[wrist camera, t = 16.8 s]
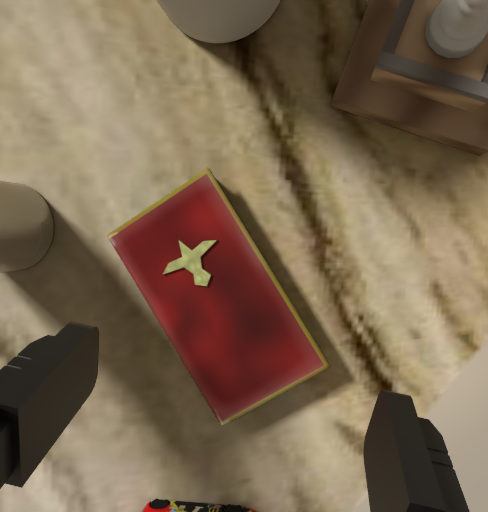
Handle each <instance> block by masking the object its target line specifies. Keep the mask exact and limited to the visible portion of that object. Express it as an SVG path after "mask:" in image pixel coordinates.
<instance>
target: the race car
mask: <svg viewBox="0 0 488 512" xmlns="http://www.w3.org/2000/svg"><path fill="white" fill-rule="evenodd" d="M142 512H255V511H253V510H251V509H249V508H246V507H244V510H242V507H241V506H240V505H238V506H236V505H230V504H229V505H227V506H226V507H225V508H224V505H220V504H207V503H194V502H181V501H171V502H170V504H169V501H168V500H159V499H155V500H154V501H152V502H151V501H150V502H149V503H148V504H147V505H146V507H145V508H144V509H143V511H142Z"/></svg>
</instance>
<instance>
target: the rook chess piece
mask: <svg viewBox="0 0 488 512" xmlns="http://www.w3.org/2000/svg"><path fill="white" fill-rule="evenodd" d="M487 32H488V0H443V1H442V2H440V3H439V4H438V5H437V6H436V7H435V9H434V11H433V12H432V13H431V14H430V16H429V18H428V21H427V23H426V31H425V36H426V39H427V42H428V44H429V46H430V47H431V48H432V49H433V50H434V51H435V52H436V53H437V54H438V55H441V56H443V57H446V58H461V57H463V56H466V55H468V54H470V53H472V52H473V51H474V50H475V49H476V48H477V47H478V46H479V45H480V44H481V42H482V41H483V40H484V38H485V36H486V34H487Z"/></svg>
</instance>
